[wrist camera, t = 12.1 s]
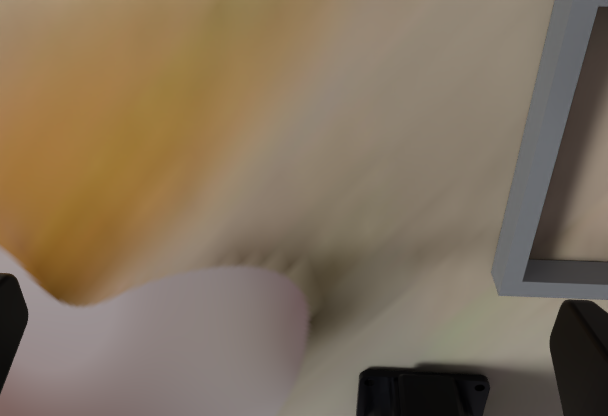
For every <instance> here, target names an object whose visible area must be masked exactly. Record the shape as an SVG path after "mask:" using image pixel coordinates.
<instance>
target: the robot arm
mask: <svg viewBox="0 0 608 416" xmlns="http://www.w3.org/2000/svg"><path fill="white" fill-rule="evenodd" d="M27 321H28V309H27V306H26V303H25V300H24V297H23V294H22V291H21V289H20V286H19V283H18V280H17V278H16V277H15V276H14V275H12V274H8V273H0V394H1V391H2V388H3V386H4V383H5V381H6V378H7V375H8V373H9V370H10V367H11V365H12V362H13V359H14V357H15V354H16V352H17V349H18V346H19V344H20V341H21V338H22V336H23V333H24V330H25V328H26V325H27ZM550 352H551V357H552V362H553V366H554V371H555V376H556V381H557V385H558V390H559V395H560V400H561V404H562V409H563V414H564V416H608V313H607V312H606V311H605V310H603V309H602V308H601V307H599V306H598V305H597V304H595V303H594V302H592V301H589V300H572V299H569V300H565V301H564V302H563V303H562V305H561V307H560V309H559V312H558V315H557V318H556V321H555V324H554V327H553V329H552V332H551V336H550ZM368 379H370V380H368ZM489 390H490V385H489V381H488V379H487V377H485V376H483V375H472V374H450V373H428V372H406V371H384V370H365V371H362V372H361V373H360V375H359V384H358V396H357V409H356V416H482V415H483V412H484V408H485V404H486V401H487V397H488V393H489Z"/></svg>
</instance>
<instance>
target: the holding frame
mask: <svg viewBox="0 0 608 416" xmlns="http://www.w3.org/2000/svg"><path fill="white" fill-rule="evenodd" d="M598 6H606V7H608V0H555V2H554V6H553V10H552V14H551V19H550V23H549V27H548V32H547V36H546V40H545V44H544V49H543V53H542V57H541V61H540V66H539V70H538V74H537V79H536V83H535V87H534V91H533V96H532V100H531V104H530V108H529V113H528V117H527V121H526V126H525V130H524V134H523V138H522V143H521V147H520V151H519V155H518V160H517V164H516V168H515V172H514V177H513V181H512V185H511V190H510V194H509V198H508V202H507V207H506V211H505V215H504V219H503V224H502V228H501V232H500V237H499V241H498V245H497V249H496V254H495V258H494V262H493V266H492V271H491V274H492V277H493V280H494V283H495V286H496V289H497V292H498V295H499V296H524V297H550V298H575V299H601V300H608V262H586V261H558V260H529V255H530V252H531V248H532V244H533V241H534V237H535V234H536V230H537V226H538V223H539V219H540V215H541V212H542V208H543V205H544V201H545V197H546V194H547V190H548V186H549V183H550V179H551V176H552V172H553V168H554V165H555V161H556V158H557V154H558V150H559V147H560V143H561V139H562V136H563V132H564V129H565V125H566V121H567V118H568V114H569V110H570V107H571V103H572V100H573V96H574V92H575V89H576V85H577V82H578V78H579V74H580V71H581V67H582V63H583V60H584V56H585V53H586V49H587V45H588V42H589V38H590V35H591V31H592V27H593V24H594V20H595V16H596V13H597V9H598Z"/></svg>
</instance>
